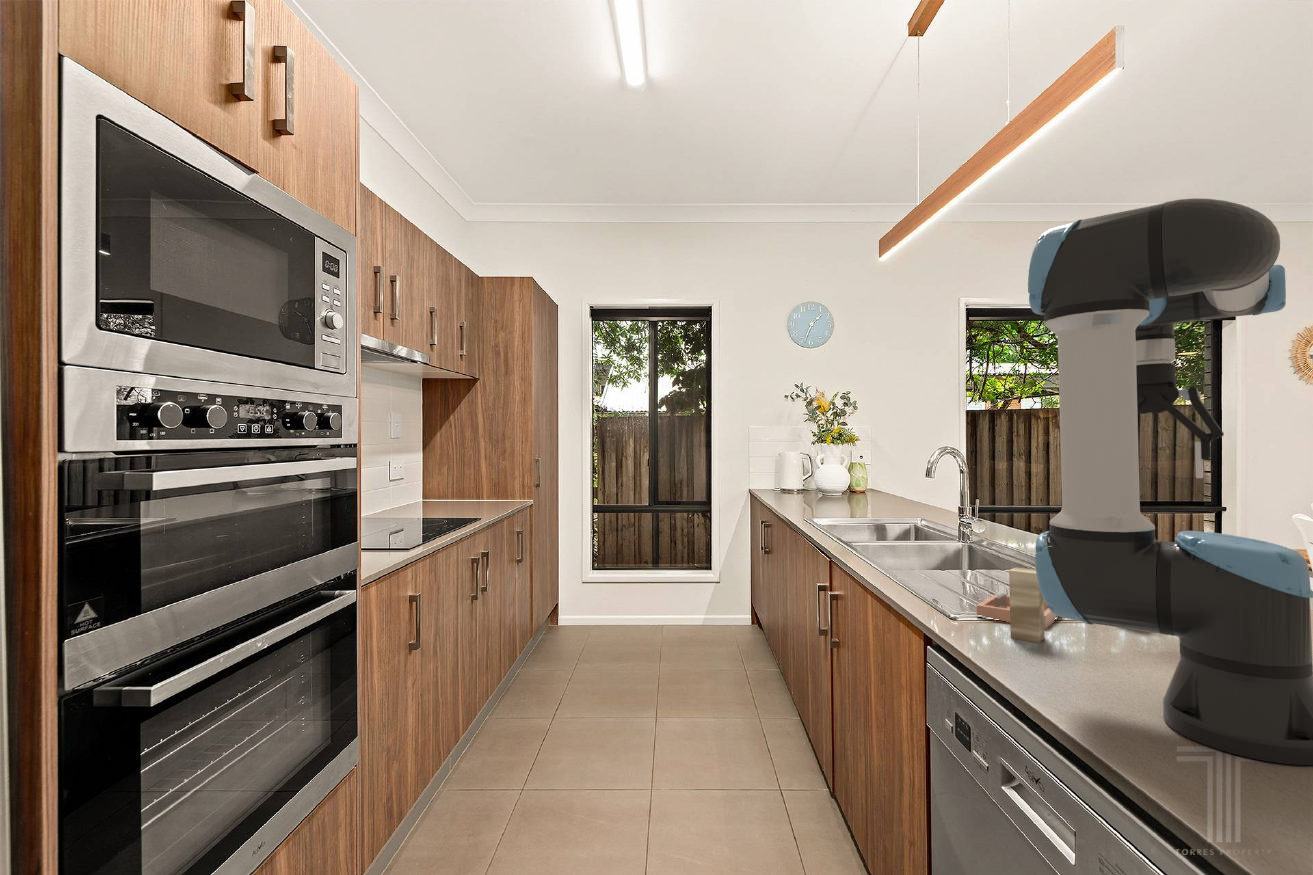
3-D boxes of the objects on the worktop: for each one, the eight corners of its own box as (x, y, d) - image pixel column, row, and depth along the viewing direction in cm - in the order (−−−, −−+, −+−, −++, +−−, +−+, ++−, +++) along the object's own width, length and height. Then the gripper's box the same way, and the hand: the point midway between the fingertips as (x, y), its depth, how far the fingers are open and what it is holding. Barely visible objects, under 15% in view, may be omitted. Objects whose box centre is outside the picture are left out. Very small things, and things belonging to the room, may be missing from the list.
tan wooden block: (1039, 642, 110) (1037, 573, 110) (1010, 637, 113) (1009, 570, 113) (1044, 638, 113) (1043, 570, 113) (1016, 633, 116) (1014, 567, 116)
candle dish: (1045, 628, 118) (1045, 609, 118) (976, 617, 126) (976, 599, 126) (1061, 615, 127) (1061, 597, 127) (996, 605, 135) (995, 588, 135)
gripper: (1241, 358, 114) (1244, 477, 114) (1078, 371, 132) (1080, 474, 132) (1236, 355, 109) (1240, 479, 109) (1067, 369, 127) (1070, 476, 127)
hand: (1152, 477), depth 120 cm, fingers open, 13 cm apart
